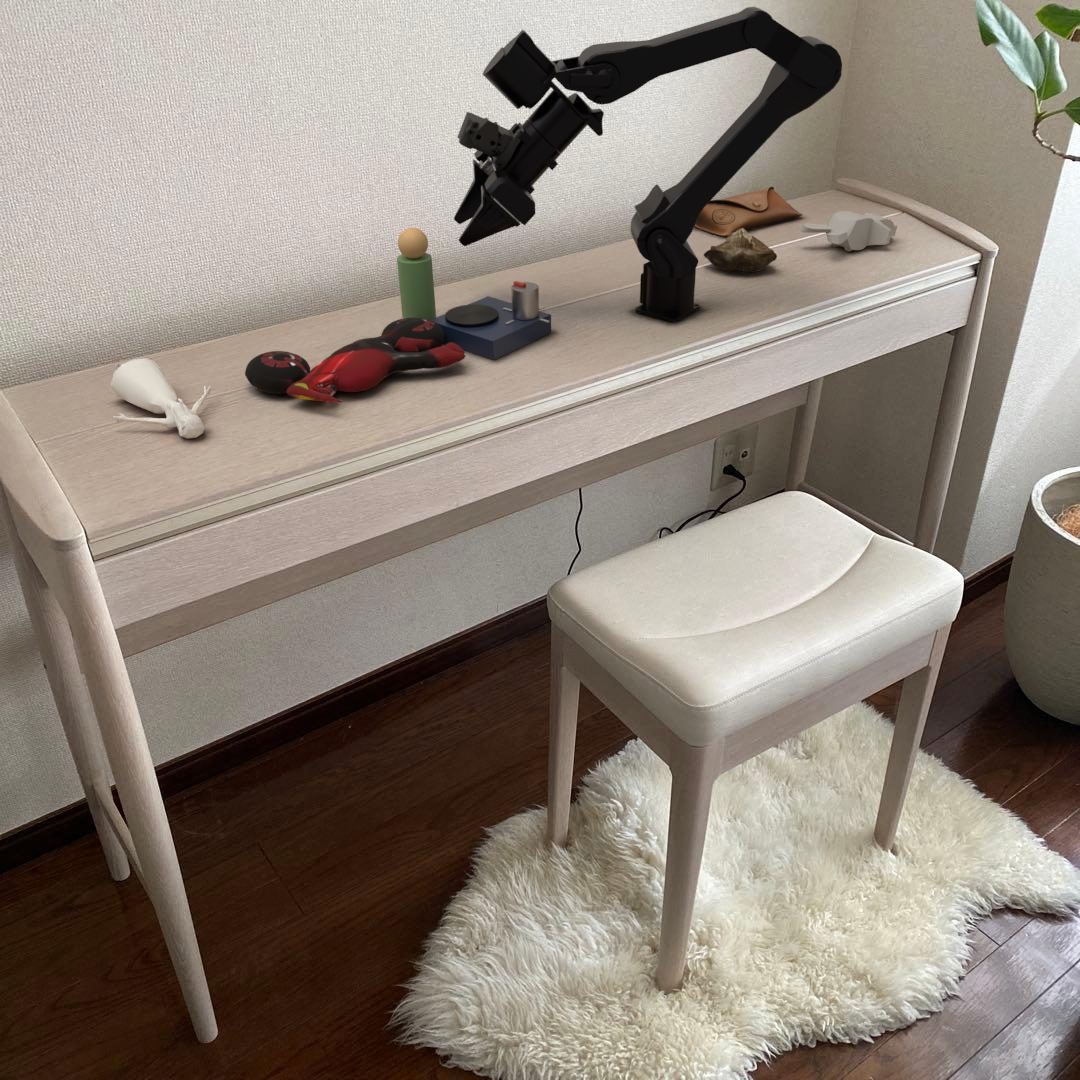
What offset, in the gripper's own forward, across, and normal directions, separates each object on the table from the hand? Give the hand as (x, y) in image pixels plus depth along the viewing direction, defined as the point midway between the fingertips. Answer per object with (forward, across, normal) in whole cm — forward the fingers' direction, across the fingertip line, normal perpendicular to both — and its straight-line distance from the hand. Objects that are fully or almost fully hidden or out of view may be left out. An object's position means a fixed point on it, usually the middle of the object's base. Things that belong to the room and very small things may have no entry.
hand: (458, 232), depth 134 cm
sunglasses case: (-26, -35, +44) cm, 62 cm away
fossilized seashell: (-21, -13, +38) cm, 45 cm away
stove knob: (+1, +5, +12) cm, 13 cm away
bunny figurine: (-35, -20, +52) cm, 65 cm away
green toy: (+13, 0, +4) cm, 13 cm away
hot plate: (+6, +5, +11) cm, 14 cm away
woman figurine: (+34, +21, -16) cm, 43 cm away
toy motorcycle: (+18, +16, -1) cm, 24 cm away
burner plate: (+6, +5, +7) cm, 11 cm away
